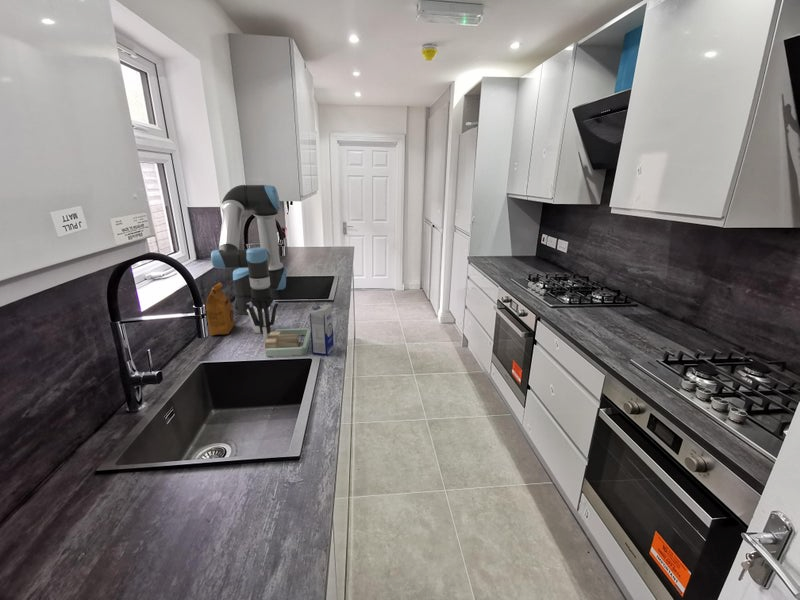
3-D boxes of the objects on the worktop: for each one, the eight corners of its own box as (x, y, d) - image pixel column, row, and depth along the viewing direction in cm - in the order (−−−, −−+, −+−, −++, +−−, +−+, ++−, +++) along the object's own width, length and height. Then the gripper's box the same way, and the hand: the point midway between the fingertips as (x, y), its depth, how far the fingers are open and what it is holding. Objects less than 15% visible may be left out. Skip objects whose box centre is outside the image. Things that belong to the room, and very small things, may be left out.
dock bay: (276, 335, 161) (276, 329, 160) (311, 334, 163) (311, 328, 162) (266, 357, 141) (265, 350, 140) (306, 355, 143) (305, 348, 142)
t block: (271, 339, 157) (271, 331, 156) (299, 338, 158) (299, 330, 157) (265, 352, 146) (264, 343, 144) (295, 350, 147) (295, 342, 146)
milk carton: (327, 356, 143) (324, 309, 136) (311, 354, 144) (308, 308, 138) (334, 348, 149) (331, 303, 143) (318, 347, 151) (316, 302, 144)
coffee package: (238, 325, 171) (232, 281, 164) (229, 336, 160) (222, 289, 153) (216, 326, 170) (209, 281, 163) (206, 336, 159) (198, 289, 152)
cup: (276, 327, 170) (273, 305, 166) (266, 336, 160) (263, 313, 157) (256, 326, 170) (253, 304, 167) (245, 334, 161) (242, 312, 158)
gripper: (240, 289, 138) (248, 345, 146) (275, 289, 140) (280, 343, 148) (246, 284, 146) (252, 337, 153) (279, 284, 147) (284, 336, 155)
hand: (266, 340), depth 150 cm, fingers closed
